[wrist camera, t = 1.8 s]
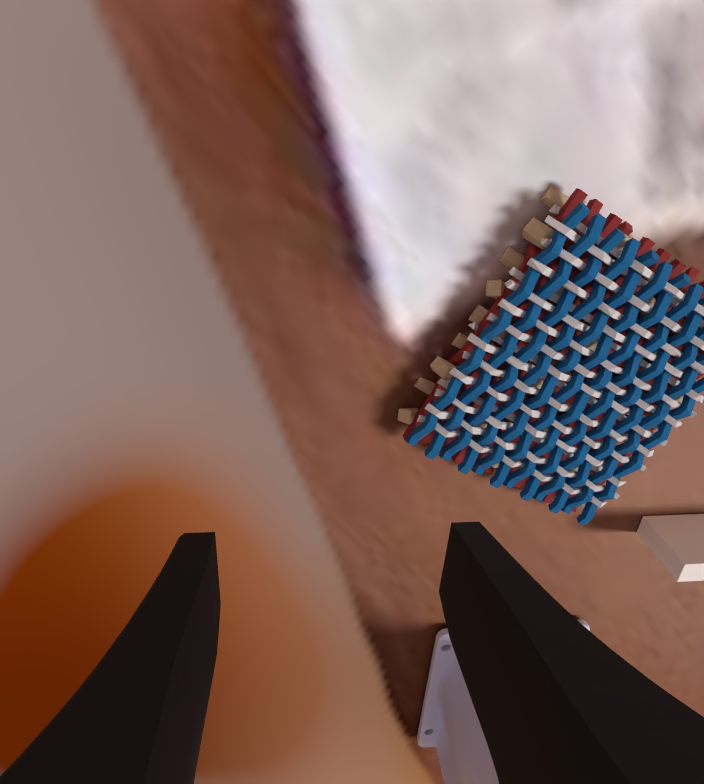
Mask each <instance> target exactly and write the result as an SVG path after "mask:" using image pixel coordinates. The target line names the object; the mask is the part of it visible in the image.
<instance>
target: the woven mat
mask: <svg viewBox="0 0 704 784" xmlns="http://www.w3.org/2000/svg"><path fill="white" fill-rule="evenodd" d="M586 197H587V194H586V193H585V192H583V191H582V190H580V189H577V188H576V190H575V191H574V192H573V194H572V195H571V196H570V197H568V196H566V195H565V194H564V193H562V192H561V191H560V190H558V189H556V188H554V187H552V186H550V187H549V189H548V190H547V191H546V193H545V194H544V196H543V197H542V199H541V201H542V202H543V203H544V204H545V205H547V206H548V207H549V208H550V210H549V212H551V213H553V214H555V215H554V216H553V217H551V216H549V215H548V216H547V218H546V219H545V221H544V222H545V224H544V223H542V222H540V221H539V220H537V219H535V218H534V217H533V218H532V219H531V220H530V222H529V223H528V224H527V225H526V226H525V227H524V229H523V236H522V237H523V238H524V239H526V240H528V241H529V244H528V248H527V251H526V254H525V256H524V255H523V254H521V253H519V252H517V251H515V250H513V249H512V248H510V247H508V248H507V250H506V251H505V252H504V254H503V255H502V257H501V258H500V260H499V262H501V263H502V264H503V265H504V266H506V267H507V268H509V269H510V270H509V274H510V275H512V276H513V277H512V278H511V280H510V279H509V280H508V281H507V282H504V281H503V280H501V279H499V280H488V281H487V283H486V296H488V297H491V298H493V299H495V300H496V301H495V302H494V304H493V305H492V307H491V308H490V309H489V310H487V309H486V308H484V307H483V306H481V305H478V306H477V307H476V309H475V310H474V312H473V313H472V315H471V316H470V318H469V320H470V321H471V322H473V323H471V324H469V326H470V327H471V328H472V329H473V330H474V332H473V333H471V334H470V335H469V337H468V336H466V335H464V334H462V333H460V332H459V333H458V335H457V336H456V338H455V339H454V341H453V342H452V344H451V345H453V346H455V347H457V348H459V349H460V350H459V351H458V352H456V353H455V354H454V355H453V356H451V357H450V358H449V360H448V361H446V360H444V359H443V358H441V357H439V356H437V357H436V359H435V360H434V361H433V362H432V363H431V365H430V367H431V370H432V371H434V372H435V373H436V374H438V379H437V382H436V384H435V383H433V382H431V381H429V380H426V379H424V378H421V377H420V378H419V379H418V381H417V382H416V384H415V385H414V386H415V387H416V388H418V389H419V390H421V391H423V392H424V393H426V394H427V395H429V396H428V398H427V399H426V401H425V402H424V404H423V406H422V407H421V409H418V408H401V409H399V413H398V421H401V422H403V423H406V424H409V427H408V428H407V430H406V432H405V433H404V435H403V437H404V440H405V441H406V442H407V443H409V444H411V445H413V446H416V444H417V443H418V442H419V443H421V444H423V445H427V444H429V443H430V442H431V444H430V446H429V447H428V448H427V449H426V450H425V457H428V458H430V459H434V458H435V457H436V456H437V455H438V454H440V455H439V456H440V457H441V458H443V459H445V460H448V461H449V460H450V459H451V457H452V458H453V460H454V461H455V462H458V463H460V464H459V465H458V471H460V472H462V473H465V474H467V473H468V471H469V470H470V469H471V470H472V471H473V472H475V473H477V474H479V475H482V474H483V472H487V473H489V474H492V471H493V468H497V470H496V473H495V475H494V476H493V477H492V478H491V479H490V485H492V486H494V487H497V488H498V487H499V486H500V485H501V484H503V485H505V486H507V487H509V488H511V489H512V488H513V486H514V487H517V488H519V489H520V488H521V487H522V486H523V485H524V484H525V483H526V482H527V481H528V482H527V485H526V487H525V489H524V490H523V491H521V492H520V495H521V498H522V499H524V500H527V501H528V500H530V499H531V498H532V497H533V498H534V499H536V500H538V501H542V500H543V501H544V502H547V503H550V501H551V500H552V499H553V497H554V496H555V495H556V497H555V499H554V501H553V502H552V503H551V504H549V505H548V506H549V510H550V511H551V512H554V513H557V512H559V511H560V510H562V511H563V512H566V513H568V514H569V513H570V512H571V511H573V512H576V509H577V507H578V506H580V505H581V506H584V509H583V512H582V514H581V515H579V516H578V517H577V521H578V523H579V524H581V525H586V524H587V523H588V522H590V521H591V520H592V518H593V516H594V513H595V511H596V509H597V507H599V508H601V507H602V506H603V505H604V504H606V503H607V502H608V501H604V500H609V499H613V498H615V499H616V500H617V499H618V498H619V496H620V495H619V494H617V493H616V489H617V487H619V486H621V485H623V484H624V483H626V482H625V481H620V478H621V477H623V476H625V475H627V474H630V473H632V472H634V471H636V470H638V469H639V470H641V471H644V470H645V469H646V467H645V466H644V465H642V463H643V459H644V455H645V456H647V457H650V456H652V455H653V452H654V450H649V449H651V448H652V447H654V446H656V445H658V444H661V445H662V446H665V445H666V444H667V443H668V441H667V439H668V436H669V433H670V430H671V427H672V425H673V426H674V427H678V426H680V425H682V423H681V421H680V420H678V419H681V418H684V417H688V416H689V417H691V418H692V419H693V418H694V417H695V416H696V414H697V413H696V412H695V411H693V407H694V404H695V401H698V402H700V403H702V402H703V400H704V397H703V396H701V395H699V394H698V393H700V392H702V391H704V378H702V379H700V380H699V381H697V379H698V378H699V377H701V376H702V375H704V320H703V319H702V318H703V316H704V281H703V282H702V284H701V285H699V284H697V283H696V284H693V285H692V282H693V281H694V279H695V278H696V277H697V275H698V274H699V273H700V271H698V270H697V269H695V268H693V267H691V268H689V269H688V270H687V271H686V272H685V273H682V274H680V275H678V274H679V273H680V272H681V271H682V270H683V269H684V268H685V267H686V266H685V265H684V264H682V263H681V262H680V261H678V260H676V259H675V260H674V261H673V262H672V263H671V264H669V263H668V262H666V261H667V260H668V259H669V257H670V256H671V254H670V253H668V252H667V251H665V250H663V249H660V248H659V249H658V250H657V251H656V253H655V252H654V251H653V250H651V248H652V247H653V246H654V244H655V243H654V242H653V241H652V240H650V239H649V238H645V237H643V238H642V239H641V240H640V242H638V241H637V240H636V239H634V238H631V237H629V236H628V235H629V234H630V233H632V232H633V230H632V226H631V225H630V224H629V223H627V222H626V221H625V222H624V223H622V224H620V223H621V222H622V219H620V218H619V217H618V216H616V215H614V214H612V213H610V214H609V216H608V217H607V218H605V217H603V216H602V215H600V214H599V211H600V209H601V208H602V206H603V204H602V203H601V202H599V201H598V200H597V199H594V200H590V201H589V202H588V204H587V206H586V205H584V204H583V203H582V202H583V201H584V199H585V198H586ZM619 224H620V225H619ZM618 225H619V226H618ZM542 249H543V251H542V252H541V250H542ZM650 250H651V251H650ZM613 256H614V257H616V258H617V260H616V261H615V260H614V259H612V258H613ZM545 265H546V266H545ZM658 292H659V294H658V297H657V299H655V298H654V297H653V296H654V295H655V294H657V293H658ZM554 303H556V304H557V305H556V307H555V306H554V305H553V304H554ZM639 312H640V313H641V314H642V315H644V316H643V317H641V318H639V319H638V315H639ZM623 314H624V315H623ZM685 320H686V321H685ZM698 326H699V327H700V328H701V329H698ZM670 334H673V336H671V337H669V338H667V337H668V335H670ZM622 343H623V344H622ZM500 344H501V345H502V347H501V348H499V345H500ZM621 344H622V346H620V345H621ZM684 347H685V348H684ZM683 349H684V352H683V353H682V350H683ZM702 353H703V354H702ZM583 354H584V355H587V356H589V357H587V358H585V359H583V360H582V357H583ZM646 358H647V359H649V360H651V361H652V364H650V363H648V362H646ZM581 360H582V361H581ZM616 373H618V374H620V375H618V376H615V377H613V378H612V375H614V374H616ZM568 382H569V383H568ZM628 388H629V390H628V391H627V389H628ZM646 391H649V392H647V393H646ZM530 394H535V395H536V396H534V397H532V398H530V399H529V396H530ZM593 397H596V398H599V399H600V400H599V401H598V400H596V399H594V398H593ZM670 406H671V407H674V408H676V409H673V410H670ZM441 410H442V411H441ZM562 411H567V412H566V413H564V414H562V415H560V416H559V415H558V414H560V413H561V412H562ZM595 427H597V428H595ZM594 428H595V429H594ZM654 429H655V430H657V432H656V433H655V432H652V431H653V430H654ZM542 430H544V431H546V432H544V431H542ZM616 441H620V442H626V443H623V444H620V445H617V446H616V445H615V444H616ZM518 442H519V443H518ZM507 450H511V451H507ZM592 450H593V451H592ZM590 451H592V452H590ZM589 452H590V453H589ZM452 455H453V456H452ZM631 455H632V456H631ZM606 459H607V460H606ZM602 466H603V467H602ZM567 477H573V478H568V479H567ZM606 481H607V482H606ZM604 482H606V485H602V484H603V483H604ZM594 491H595V492H594ZM556 493H557V494H556Z"/></svg>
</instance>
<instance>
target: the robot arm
mask: <svg viewBox="0 0 704 784" xmlns="http://www.w3.org/2000/svg"><path fill="white" fill-rule="evenodd" d="M439 594H440V598H441V603H442V607H443V612H444V617H445V621H446V625H447V628H445V629H442V630H440V631H439V632H438V633H437V635H436V639H435V644H434V649H433V655H432V660H431V665H430V671H429V676H428V681H427V686H426V692H425V697H424V702H423V708H422V713H421V718H420V724H419V729H418V734H417V740H418V744H419V745H420V746H421V747H434V746H436V749H437V753H438V757H439V761H440V765H441V769H442V773H443V777H444V781H445V784H704V717H702V716H701V715H699V714H698V713H697V712H695V711H694V710H692V709H691V708H689V707H688V706H686V705H685V704H684V703H682V702H681V701H679V700H678V699H676V698H675V697H673V696H672V695H671V694H669V693H668V692H666V691H665V690H663V689H662V688H661V687H659V686H658V685H657V684H655V683H654V682H653V681H651V680H650V679H648V678H647V677H646V676H644V675H643V674H642V673H641V672H639V671H638V670H637V669H635V668H634V667H633V666H632V665H630V664H629V663H628V662H627V661H625V660H624V659H623V658H621V657H620V656H619V655H618V654H616V653H615V652H614V651H613V650H611V649H610V648H609V647H608V646H606V645H605V644H604V643H603V642H602V641H600V640H599V639H598V638H597V637H596V636H595V635H593V634H592V633H591V632H590V627H589V626H588V624H587V622H586V621H584V620H577V619H575V618H574V617H573V616H572V615H571V614H570V613H569V612H568V611H567V610H565V609H564V608H563V607H562V606H561V605H560V604H559V603H558V602H557V601H556V600H555V599H554V598H553V597H552V596H551V595H550V594H549V593H548V592H547V591H546V590H545V589H544V588H543V587H542V586H541V585H540V584H539V583H538V582H536V581H535V580H534V579H533V578H532V576H531V575H530V574H529V573H528V572H527V571H526V570H525V569H524V568H523V567H522V566H521V565H520V564H519V563H518V562H517V561H516V560H515V559H514V558H513V557H512V556H511V555H510V554H509V553H508V552H507V551H506V550H505V548H504V547H503V546H502V545H501V544H500V543H499V542H498V541H497V540H496V539H495V538H494V537H493V536H492V535H491V534H490V533H489V532H488V531H487V530H486V529H485V528H484V526H483V525H482V524H481V523H480V522H459V523H451V528H450V534H449V539H448V545H447V550H446V556H445V561H444V567H443V572H442V578H441V583H440V589H439ZM220 604H221V603H220V590H219V577H218V565H217V553H216V540H215V532H204V533H184V534H183V535H181V536H180V538H178V540H177V543H176V544H175V547H174V548H173V550H172V552H171V554H170V556H169V558H168V560H167V561H166V563H165V565H164V567H163V569H162V570H161V572H160V573H159V575H158V577H157V578H156V580H155V582H154V584H153V585H152V587H151V589H150V590H149V592H148V593H147V595H146V596H145V598H144V599H143V601H142V603H141V604H140V605H139V607H138V608H137V610H136V611H135V613H134V615H133V616H132V618H131V619H130V621H129V622H128V624H127V625H126V626H125V628H124V629H123V631H122V632H121V633H120V635H119V636H118V637H117V639H116V640H115V642H114V643H113V644H112V646H111V647H110V649H109V650H108V651H107V653H106V654H105V655H104V657H103V658H102V659H101V661H100V662H99V663H98V665H97V666H96V668H95V669H94V670H93V671H92V673H91V674H90V675H89V676H88V678H87V679H86V680H85V681H84V683H83V684H82V685H81V686H80V688H79V689H78V690H77V691H76V692H75V694H74V695H73V696H72V697H71V698H70V700H69V701H68V702H67V703H66V704H65V706H64V707H63V708H62V709H61V710H60V712H59V713H58V714H57V715H56V716H55V717H54V719H53V720H52V721H51V722H50V723H49V724H48V725H47V726H46V727H45V729H44V730H43V731H42V732H41V733H40V734H39V735H38V736H37V737H36V738H35V739H34V741H33V742H32V743H31V744H30V745H29V746H28V747H27V748H26V749H25V751H24V752H23V753H22V754H21V755H20V756H19V757H18V758H17V759H16V760H15V761H14V762H13V763H12V764H11V765H10V767H9V768H8V769H7V770H6V771H5V772H4V773H3V774H2V775H1V776H0V784H194V779H195V772H196V766H197V760H198V755H199V750H200V744H201V738H202V733H203V727H204V722H205V716H206V711H207V706H208V700H209V695H210V689H211V684H212V678H213V672H214V667H215V661H216V655H217V644H218V632H219V619H220Z"/></svg>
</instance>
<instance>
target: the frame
mask: <svg viewBox="0 0 704 784" xmlns="http://www.w3.org/2000/svg"><path fill="white" fill-rule="evenodd" d="M637 534H638V535H639V536H640V538H641V539H642V540H643V541H644V542H645V544H646V545H647V546H648V547H649V548H650V550H651V551H652V552H653V553H654V554H655V556H656V557H657V558H658V559H659V560H660V562H661V563H662V564H663V565H664V566H665V568H666V569H667V570H668V571H669V573H670V574H671V575H672V576H673V577H674V579H675V580H676V581H677V582H683V581H701V580H704V514H685V515H659V516H643V517H642V520H641V522H640V525H639V528H638V530H637Z"/></svg>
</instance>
